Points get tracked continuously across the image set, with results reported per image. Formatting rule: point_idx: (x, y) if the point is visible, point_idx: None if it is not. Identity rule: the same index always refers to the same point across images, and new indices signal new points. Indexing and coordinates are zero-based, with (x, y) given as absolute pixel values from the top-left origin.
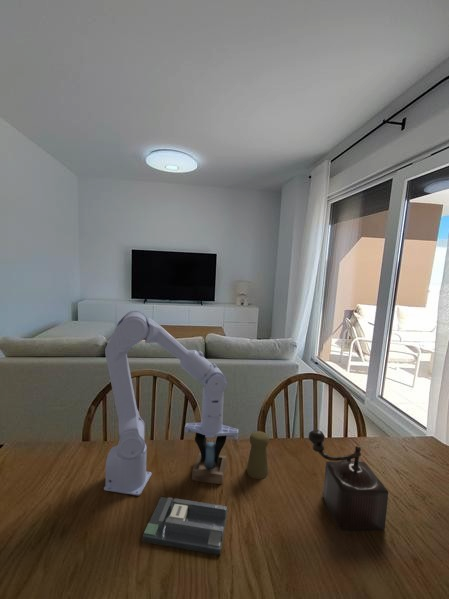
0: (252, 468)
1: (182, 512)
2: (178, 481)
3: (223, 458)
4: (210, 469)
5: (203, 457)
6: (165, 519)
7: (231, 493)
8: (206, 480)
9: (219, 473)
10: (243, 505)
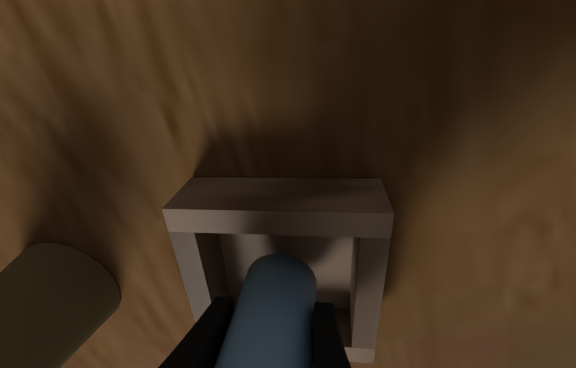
0: (40, 284)
1: None
2: (476, 149)
3: None
4: None
5: (320, 327)
6: None
7: (114, 119)
8: (284, 183)
9: (186, 218)
10: (6, 35)
